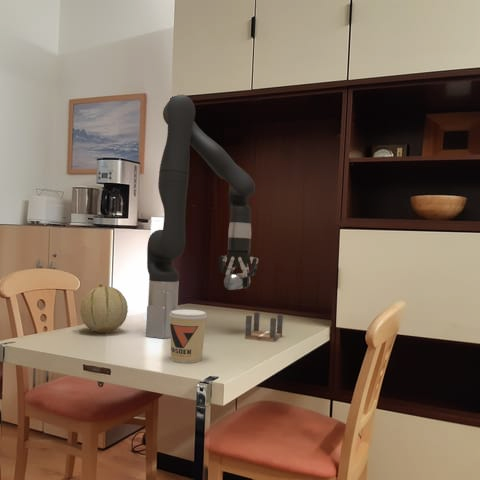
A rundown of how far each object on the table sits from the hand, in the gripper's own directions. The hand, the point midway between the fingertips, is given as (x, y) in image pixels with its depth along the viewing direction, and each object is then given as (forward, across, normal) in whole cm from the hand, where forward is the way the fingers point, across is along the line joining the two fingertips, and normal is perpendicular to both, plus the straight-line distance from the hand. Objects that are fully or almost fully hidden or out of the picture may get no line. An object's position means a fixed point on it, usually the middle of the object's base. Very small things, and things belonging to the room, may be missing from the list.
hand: (237, 287), depth 162 cm
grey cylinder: (0, 0, 0) cm, 0 cm away
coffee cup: (+16, +4, -40) cm, 43 cm away
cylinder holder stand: (+15, +10, -1) cm, 19 cm away
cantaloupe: (+16, -36, -23) cm, 45 cm away
